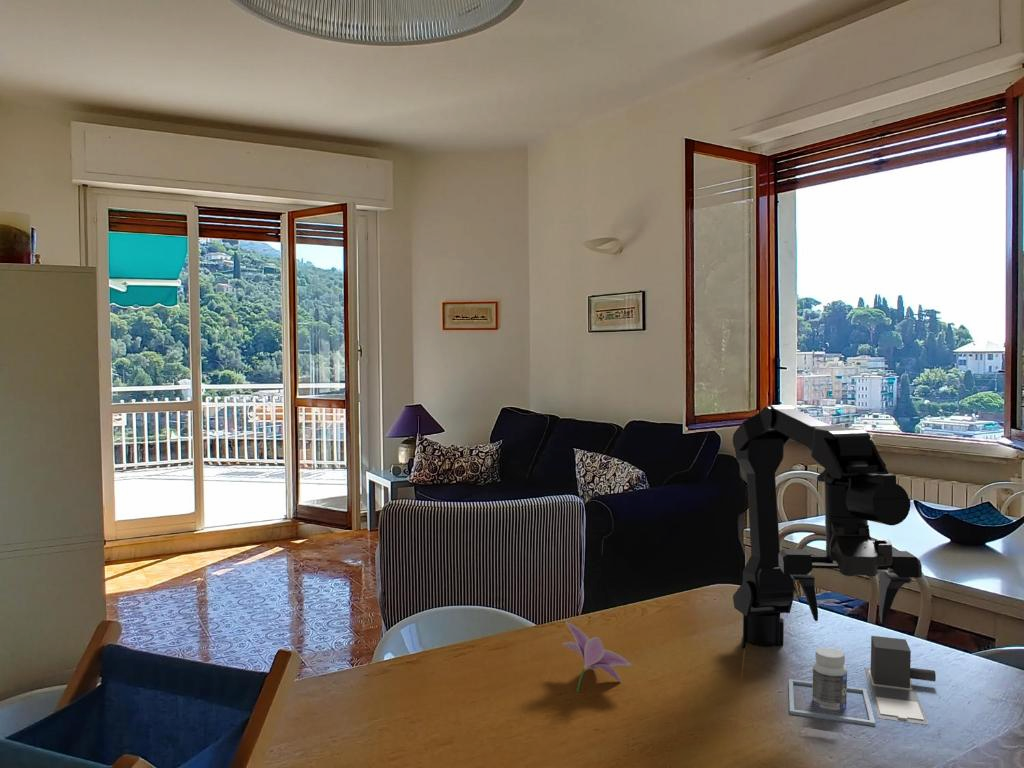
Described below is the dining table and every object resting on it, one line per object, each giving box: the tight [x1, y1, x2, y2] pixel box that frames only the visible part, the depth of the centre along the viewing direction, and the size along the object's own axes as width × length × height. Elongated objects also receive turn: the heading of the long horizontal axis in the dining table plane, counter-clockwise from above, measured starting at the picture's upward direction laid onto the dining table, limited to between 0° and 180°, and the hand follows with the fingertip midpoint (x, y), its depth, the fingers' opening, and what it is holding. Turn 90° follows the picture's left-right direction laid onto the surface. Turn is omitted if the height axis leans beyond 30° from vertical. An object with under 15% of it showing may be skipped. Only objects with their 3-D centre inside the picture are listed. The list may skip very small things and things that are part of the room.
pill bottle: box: [811, 647, 848, 711], centre depth 115 cm, size 5×5×8 cm
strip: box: [864, 667, 930, 726], centre depth 118 cm, size 6×18×1 cm, turn 161°
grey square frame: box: [788, 678, 876, 727], centre depth 115 cm, size 11×11×1 cm
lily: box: [562, 620, 632, 693], centre depth 123 cm, size 12×12×10 cm
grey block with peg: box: [870, 635, 937, 688], centre depth 122 cm, size 9×5×6 cm, turn 71°
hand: (848, 621), depth 114 cm, fingers open, 9 cm apart
